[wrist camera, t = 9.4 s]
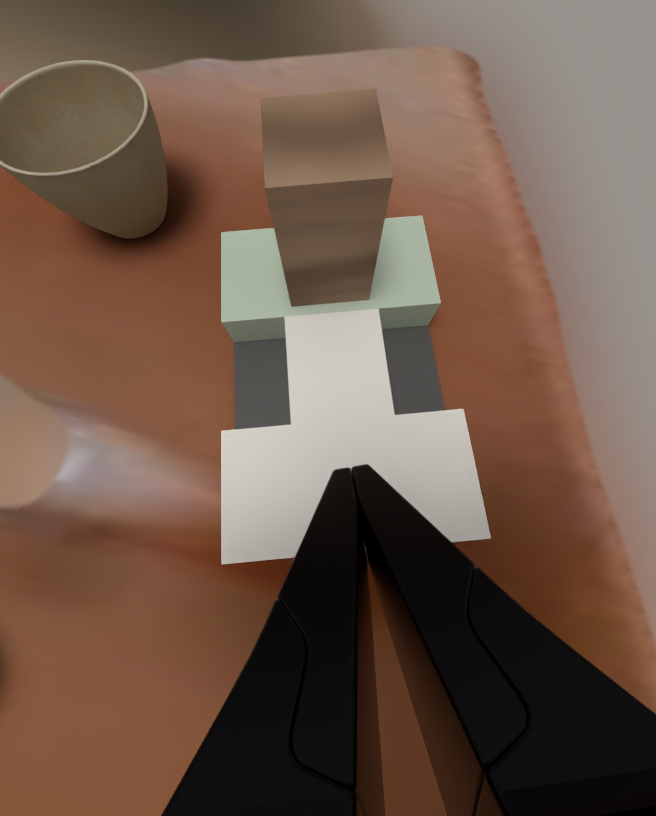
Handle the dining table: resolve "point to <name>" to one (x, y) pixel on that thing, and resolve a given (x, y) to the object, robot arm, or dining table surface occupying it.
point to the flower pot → (87, 145)
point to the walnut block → (326, 191)
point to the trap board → (336, 397)
